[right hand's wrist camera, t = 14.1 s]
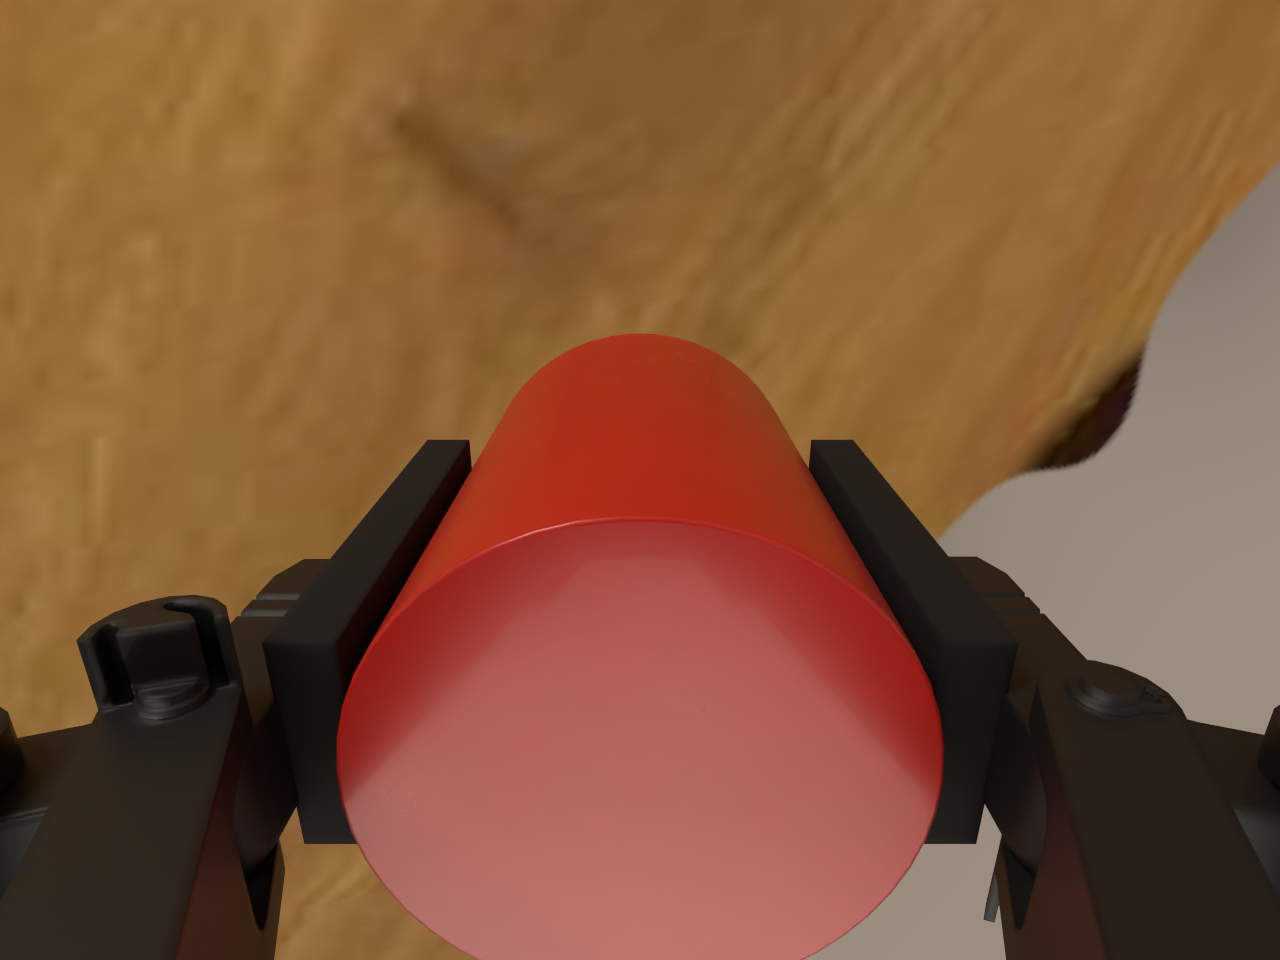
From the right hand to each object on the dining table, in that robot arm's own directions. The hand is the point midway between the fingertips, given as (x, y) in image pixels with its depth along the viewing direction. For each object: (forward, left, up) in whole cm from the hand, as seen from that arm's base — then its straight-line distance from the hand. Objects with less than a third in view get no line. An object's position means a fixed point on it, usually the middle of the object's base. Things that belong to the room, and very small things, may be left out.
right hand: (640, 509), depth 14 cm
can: (0, 0, -2) cm, 2 cm away
